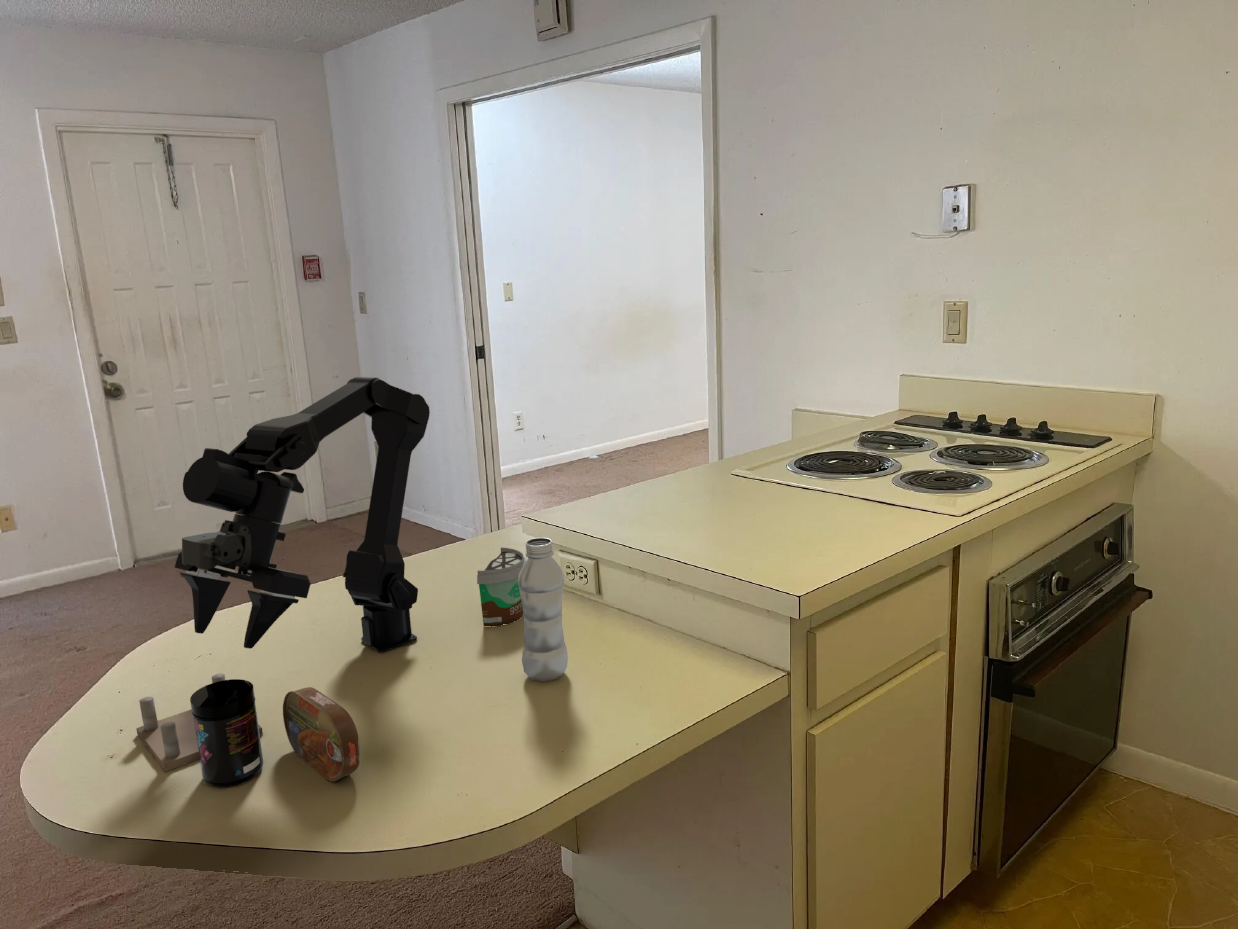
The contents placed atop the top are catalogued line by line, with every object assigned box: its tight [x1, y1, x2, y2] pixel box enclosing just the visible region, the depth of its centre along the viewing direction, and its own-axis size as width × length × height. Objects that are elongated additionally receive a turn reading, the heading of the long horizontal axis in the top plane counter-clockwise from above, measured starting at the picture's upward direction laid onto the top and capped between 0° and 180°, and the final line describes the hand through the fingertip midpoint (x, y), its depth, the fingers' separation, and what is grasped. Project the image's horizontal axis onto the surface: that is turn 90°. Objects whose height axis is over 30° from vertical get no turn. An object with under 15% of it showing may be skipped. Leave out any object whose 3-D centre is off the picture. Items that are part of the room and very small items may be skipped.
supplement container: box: [189, 678, 264, 789], centre depth 104 cm, size 7×7×10 cm
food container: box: [476, 546, 527, 628], centre depth 146 cm, size 12×6×10 cm, turn 168°
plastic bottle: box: [518, 537, 569, 682], centre depth 124 cm, size 6×7×20 cm
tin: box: [282, 686, 360, 782], centre depth 105 cm, size 15×3×8 cm, turn 45°
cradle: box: [135, 673, 264, 773], centre depth 113 cm, size 12×12×5 cm
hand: (222, 640), depth 111 cm, fingers open, 9 cm apart
